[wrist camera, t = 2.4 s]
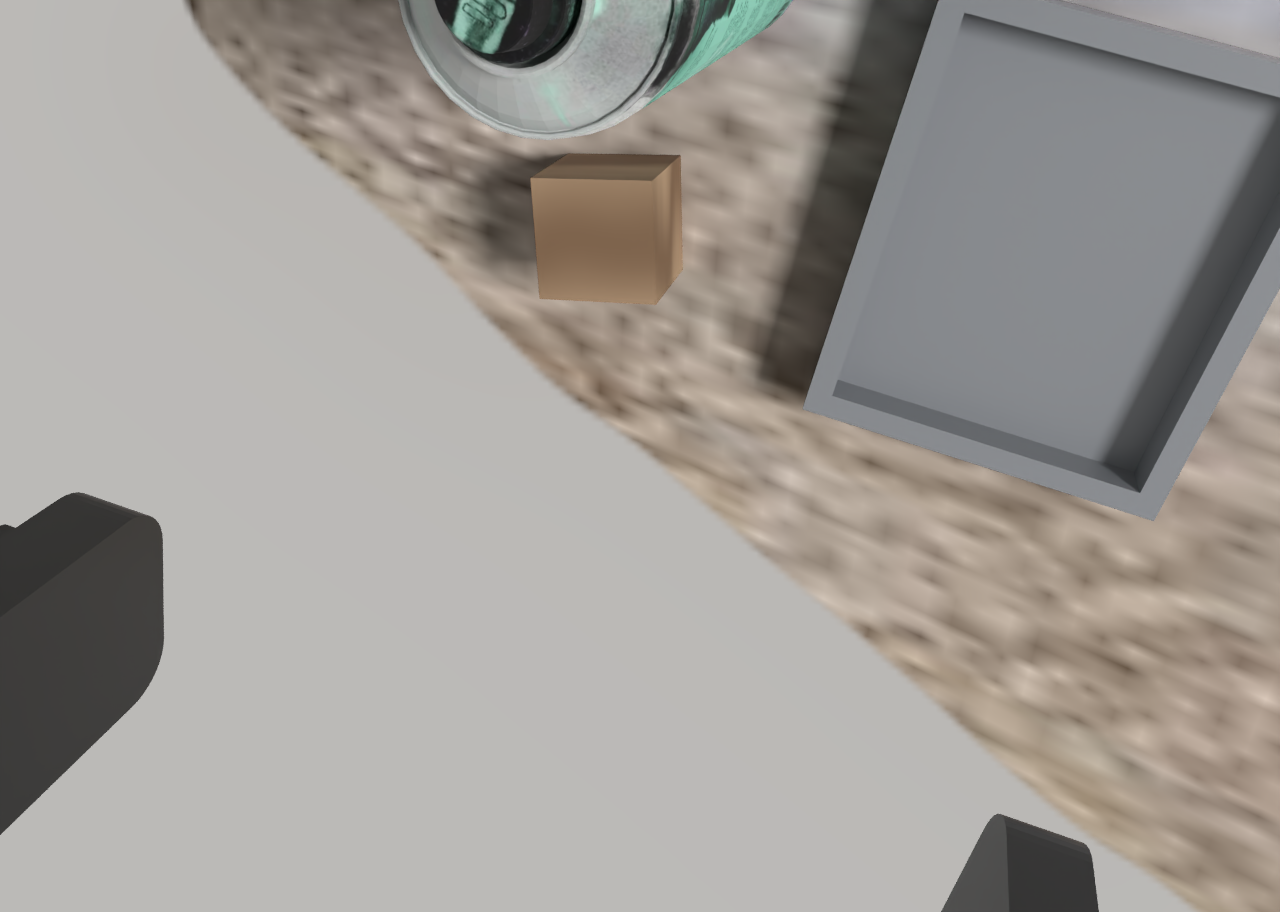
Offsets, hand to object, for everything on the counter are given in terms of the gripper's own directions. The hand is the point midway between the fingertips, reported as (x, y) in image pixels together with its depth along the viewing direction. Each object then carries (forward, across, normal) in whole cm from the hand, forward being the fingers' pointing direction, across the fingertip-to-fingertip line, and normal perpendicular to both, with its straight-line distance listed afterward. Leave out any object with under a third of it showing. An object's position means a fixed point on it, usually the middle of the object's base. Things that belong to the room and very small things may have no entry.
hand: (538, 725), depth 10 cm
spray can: (+30, +5, -4) cm, 31 cm away
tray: (+30, -7, +2) cm, 31 cm away
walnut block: (+30, +7, +5) cm, 31 cm away
